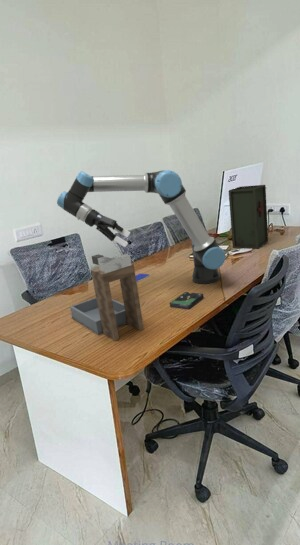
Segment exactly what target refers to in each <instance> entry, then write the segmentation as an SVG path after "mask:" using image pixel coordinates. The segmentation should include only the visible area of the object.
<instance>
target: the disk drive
mask: <svg viewBox="0 0 300 545" xmlns="http://www.w3.org/2000/svg"><path fill="white" fill-rule="evenodd" d="M203 299H204V293H199V292H197V293H196V292H192V293H191V292H187V291H185V292H183V293H181V294H180V295H179V296H177V297H176V298H175V299H172V301H170V302H169V308H175V309H181V310H189V311H190V309H192V308H193V307H194V306H195V305H197V304H198V303H199V302H201V301H202V300H203Z"/></svg>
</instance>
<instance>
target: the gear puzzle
mask: <svg viewBox="0 0 300 545" xmlns="http://www.w3.org/2000/svg"><path fill="white" fill-rule="evenodd" d="M207 233H208V235H209V236H210V237H214V239H215V240H216V241H223V240H226V239H230V240H232V234H229V233H225V232H223V234H222V233H219V234H217V233H218V232H216V233H212V232H207Z"/></svg>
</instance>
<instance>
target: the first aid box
mask: <svg viewBox="0 0 300 545" xmlns="http://www.w3.org/2000/svg"><path fill="white" fill-rule="evenodd" d="M266 188H267V187H266V184H258V185H257V184H256V185H245V186H243V185H242V186H238V187H235V189H234V188H232V189H229V191H228V201H229V213H230V216H229V217H230V228H231V235H232V238H231V240H232V241H231V242H232V243H231V244H232V249H249V250H250V249H251V250H253V249H254V250H255V249H256V250H258V249H260V248H261V247H263V246H265V245H266V244H267V243H269V235H268V234H269V232H268V211H267V210H268V209H267V191H266V190H267V189H266Z"/></svg>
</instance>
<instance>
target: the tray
mask: <svg viewBox="0 0 300 545" xmlns="http://www.w3.org/2000/svg"><path fill="white" fill-rule="evenodd" d="M112 302H113V307H114V313H115V318H116V324H117V328H119V327H121V326H124V325H126V324H127V319H126V314H125V308H124V302H123V303H122V302H120V301H118V300H115V299H114V298H112ZM69 309H70V314H71V317H72V319H73V320H74V321H76V322H77V323H79V324H81V325H82V326H84V327H86V328H87V329H88V330H90V331H92V332H93V333H95V334H96V335H98V336H100V335H102V334H103V330H102V325H101V320H100V315H99V309H98V304H97V299H96V297H94V298H90V299H87V300H84V301H82V302H79V303H76V304H74V305H73V304H72V305H71V306H69Z"/></svg>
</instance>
